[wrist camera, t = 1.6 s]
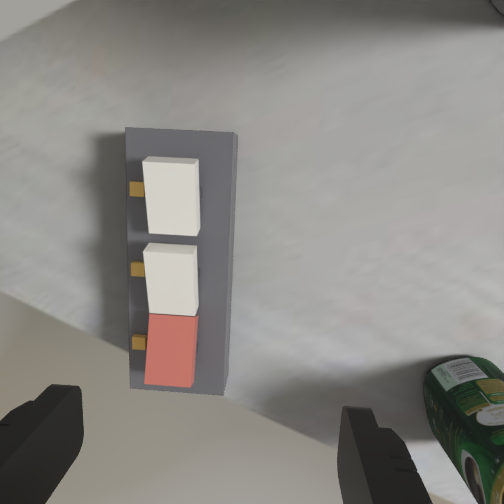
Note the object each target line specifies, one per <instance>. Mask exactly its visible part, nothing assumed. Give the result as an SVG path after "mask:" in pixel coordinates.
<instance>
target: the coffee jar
mask: <svg viewBox="0 0 504 504" xmlns="http://www.w3.org/2000/svg"><path fill="white" fill-rule="evenodd" d="M424 400H425V406H426V412H427V416H428V420H429V423H430V426H431V429H432V431H433V433H434V435H435V437H436V438H437V440H438V442H439V443H440V445H441V446H442V448H443V449H444V451H445V452H446V454H447V455H448V457H449V458H450V460H451V461H452V463H453V464H454V466H455V468H456V469H457V471H458V472H459V474H460V475H461V477H462V479H463V480H464V482H465V484H466V485H467V487H468V488H469V490H470V491H471V493H472V495H473V496H474V498H475V499H476V501H477V503H478V504H504V373H503V372H502V371H501V370H500V369H499V368H498V367H497V366H496V365H494V364H493V363H492V362H491V361H489V360H487V359H484V358H479V357H466V358H458V359H453V360H449V361H446V362H444V363H441V364H439V365H437V366H435V367H434V368H432V369H431V370H430V371H429V373H428V374H427V376H426V377H425V381H424Z"/></svg>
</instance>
